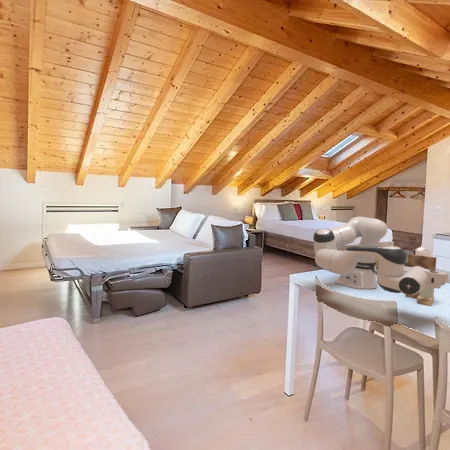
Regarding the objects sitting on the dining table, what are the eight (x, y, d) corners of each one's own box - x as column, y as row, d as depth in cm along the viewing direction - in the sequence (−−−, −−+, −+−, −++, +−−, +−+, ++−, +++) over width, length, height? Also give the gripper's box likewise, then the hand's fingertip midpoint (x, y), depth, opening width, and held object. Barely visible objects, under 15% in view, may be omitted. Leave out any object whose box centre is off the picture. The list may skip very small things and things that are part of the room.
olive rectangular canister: (419, 296, 169) (421, 269, 167) (421, 293, 173) (423, 267, 171) (431, 298, 166) (433, 270, 164) (432, 295, 169) (434, 268, 168)
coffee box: (413, 276, 217) (415, 251, 215) (403, 273, 221) (404, 249, 219) (419, 273, 223) (421, 249, 221) (409, 271, 227) (410, 247, 225)
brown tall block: (402, 300, 171) (405, 257, 169) (408, 292, 184) (411, 252, 181) (430, 306, 164) (434, 261, 161) (436, 297, 176) (439, 255, 173)
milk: (417, 282, 202) (420, 246, 199) (413, 279, 208) (415, 244, 205) (428, 283, 201) (431, 246, 199) (423, 280, 207) (426, 244, 205)
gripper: (390, 279, 152) (397, 273, 162) (444, 289, 139) (448, 281, 149) (391, 265, 151) (398, 260, 161) (445, 274, 138) (450, 267, 148)
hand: (423, 270), depth 155 cm, fingers open, 8 cm apart
